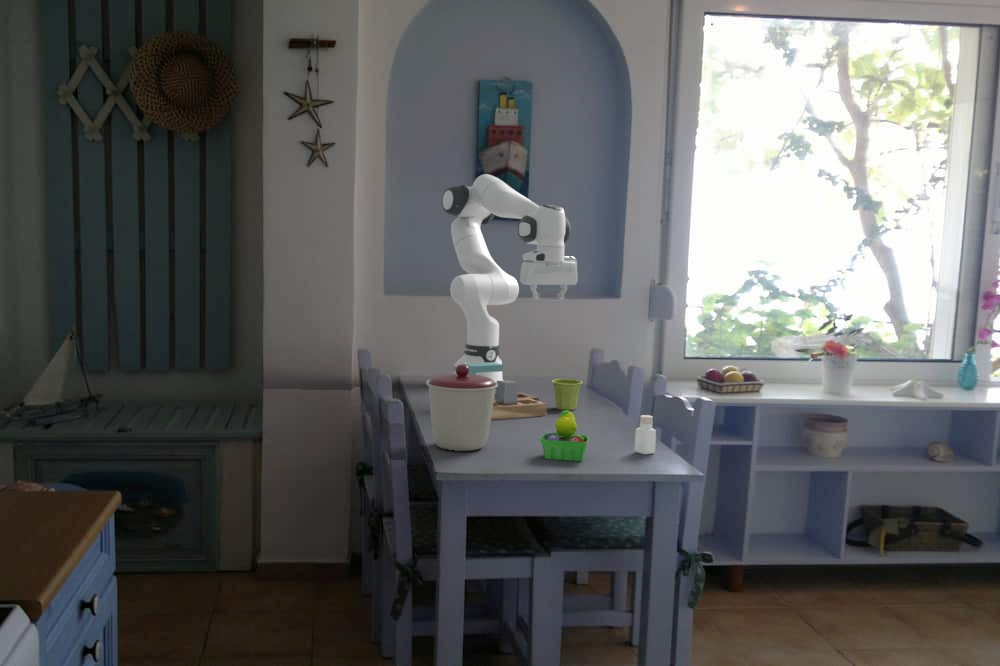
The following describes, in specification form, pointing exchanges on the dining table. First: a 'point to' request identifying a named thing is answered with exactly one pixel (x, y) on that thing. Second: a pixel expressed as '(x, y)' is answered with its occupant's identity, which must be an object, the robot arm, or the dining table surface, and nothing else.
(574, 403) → the plant pot
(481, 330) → the robot arm
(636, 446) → the salt shaker
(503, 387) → the grey rectangular block
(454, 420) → the canister
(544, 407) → the rack
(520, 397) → the socket frame
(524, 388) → the dining table surface
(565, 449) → the fruit basket
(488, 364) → the plate
